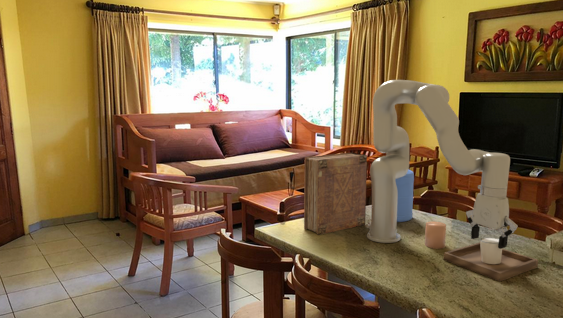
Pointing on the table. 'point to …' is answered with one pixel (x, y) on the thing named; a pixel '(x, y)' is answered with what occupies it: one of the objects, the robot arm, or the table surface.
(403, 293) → the table surface
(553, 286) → the table surface
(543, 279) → the table surface
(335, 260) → the table surface
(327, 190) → the book
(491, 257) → the white tapered cup
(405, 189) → the water jug
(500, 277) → the walnut tray
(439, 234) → the peach rounded capsule
